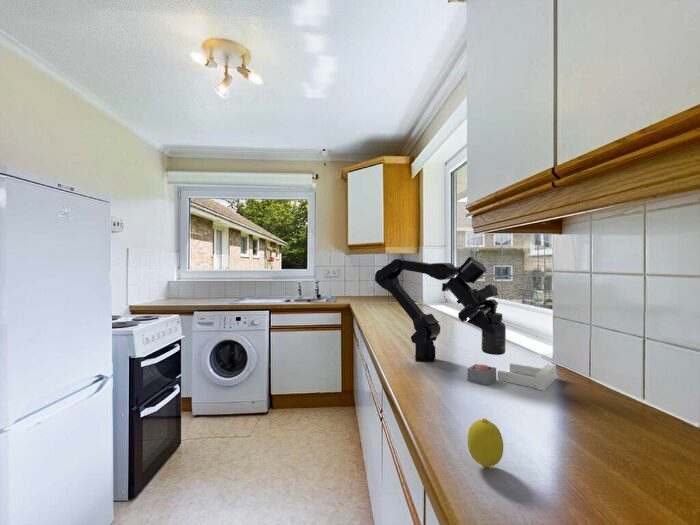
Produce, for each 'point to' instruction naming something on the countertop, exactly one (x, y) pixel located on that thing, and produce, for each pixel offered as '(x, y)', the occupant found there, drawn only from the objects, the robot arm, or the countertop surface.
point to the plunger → (481, 367)
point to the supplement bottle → (494, 335)
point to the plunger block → (481, 375)
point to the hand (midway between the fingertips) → (498, 331)
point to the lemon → (485, 443)
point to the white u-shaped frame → (539, 382)
